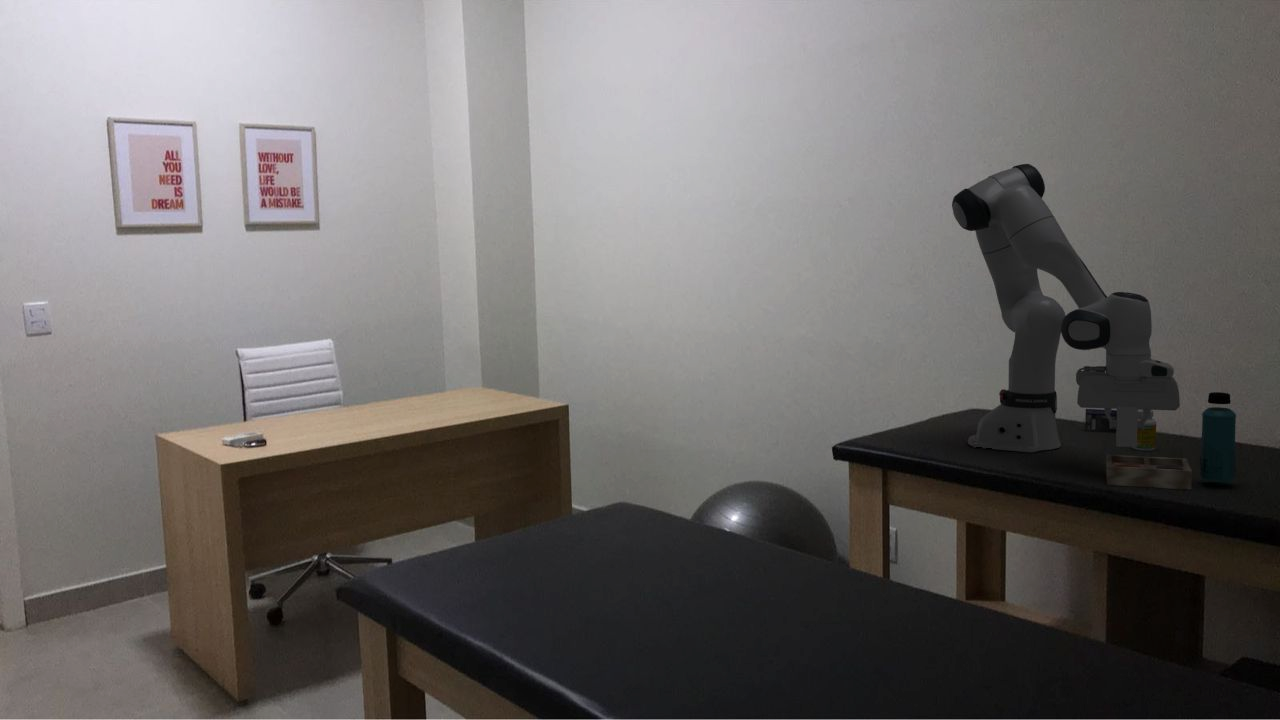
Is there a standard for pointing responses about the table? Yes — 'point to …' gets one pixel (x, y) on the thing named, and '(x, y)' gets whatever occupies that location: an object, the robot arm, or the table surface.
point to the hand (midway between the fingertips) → (1126, 428)
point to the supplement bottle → (1146, 433)
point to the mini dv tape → (1099, 421)
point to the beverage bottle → (1218, 440)
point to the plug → (1126, 426)
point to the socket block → (1148, 472)
